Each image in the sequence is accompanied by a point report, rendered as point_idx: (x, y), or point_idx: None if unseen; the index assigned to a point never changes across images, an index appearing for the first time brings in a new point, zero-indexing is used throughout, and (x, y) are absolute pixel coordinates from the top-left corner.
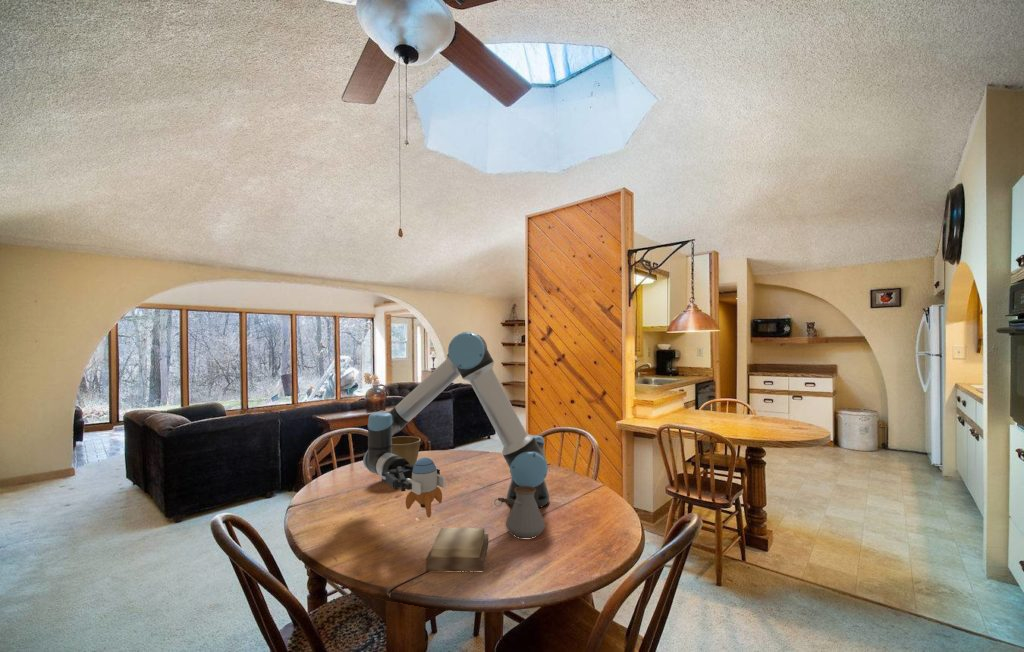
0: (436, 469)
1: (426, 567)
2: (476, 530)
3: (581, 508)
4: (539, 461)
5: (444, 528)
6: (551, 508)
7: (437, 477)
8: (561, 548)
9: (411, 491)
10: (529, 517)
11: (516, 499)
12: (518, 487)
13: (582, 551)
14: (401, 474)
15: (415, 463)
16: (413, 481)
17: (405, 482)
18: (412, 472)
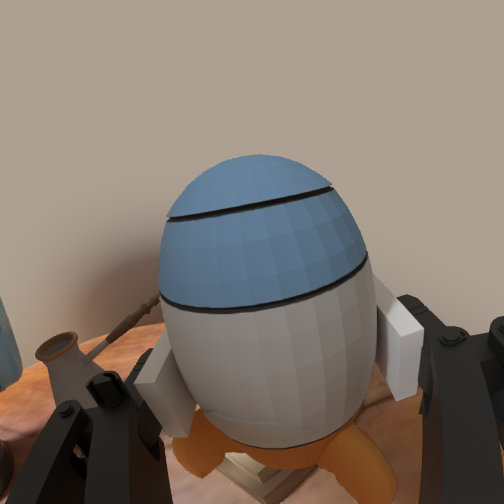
0: (54, 425)
1: (362, 402)
2: (196, 408)
3: (8, 405)
4: (1, 301)
5: (251, 464)
6: (8, 434)
7: None
8: (131, 367)
9: (368, 438)
10: (103, 369)
11: (73, 367)
12: (43, 357)
13: (128, 353)
14: (474, 486)
15: (327, 180)
16: (374, 282)
17: (428, 322)
18: (368, 256)
